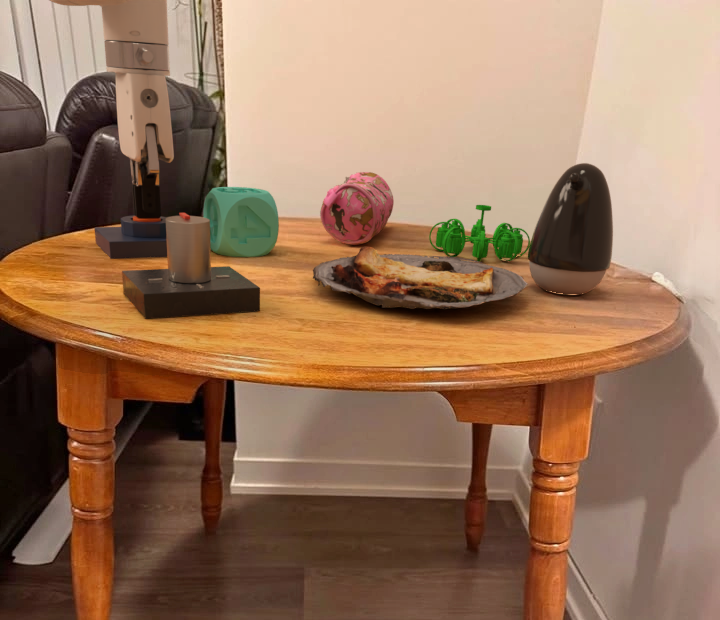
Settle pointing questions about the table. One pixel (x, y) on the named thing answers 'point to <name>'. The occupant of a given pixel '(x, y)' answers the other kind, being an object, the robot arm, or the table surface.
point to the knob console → (190, 293)
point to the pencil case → (357, 208)
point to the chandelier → (479, 238)
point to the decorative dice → (241, 221)
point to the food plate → (418, 280)
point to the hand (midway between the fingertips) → (147, 217)
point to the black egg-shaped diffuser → (573, 233)
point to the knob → (188, 248)
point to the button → (146, 219)
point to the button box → (133, 239)
